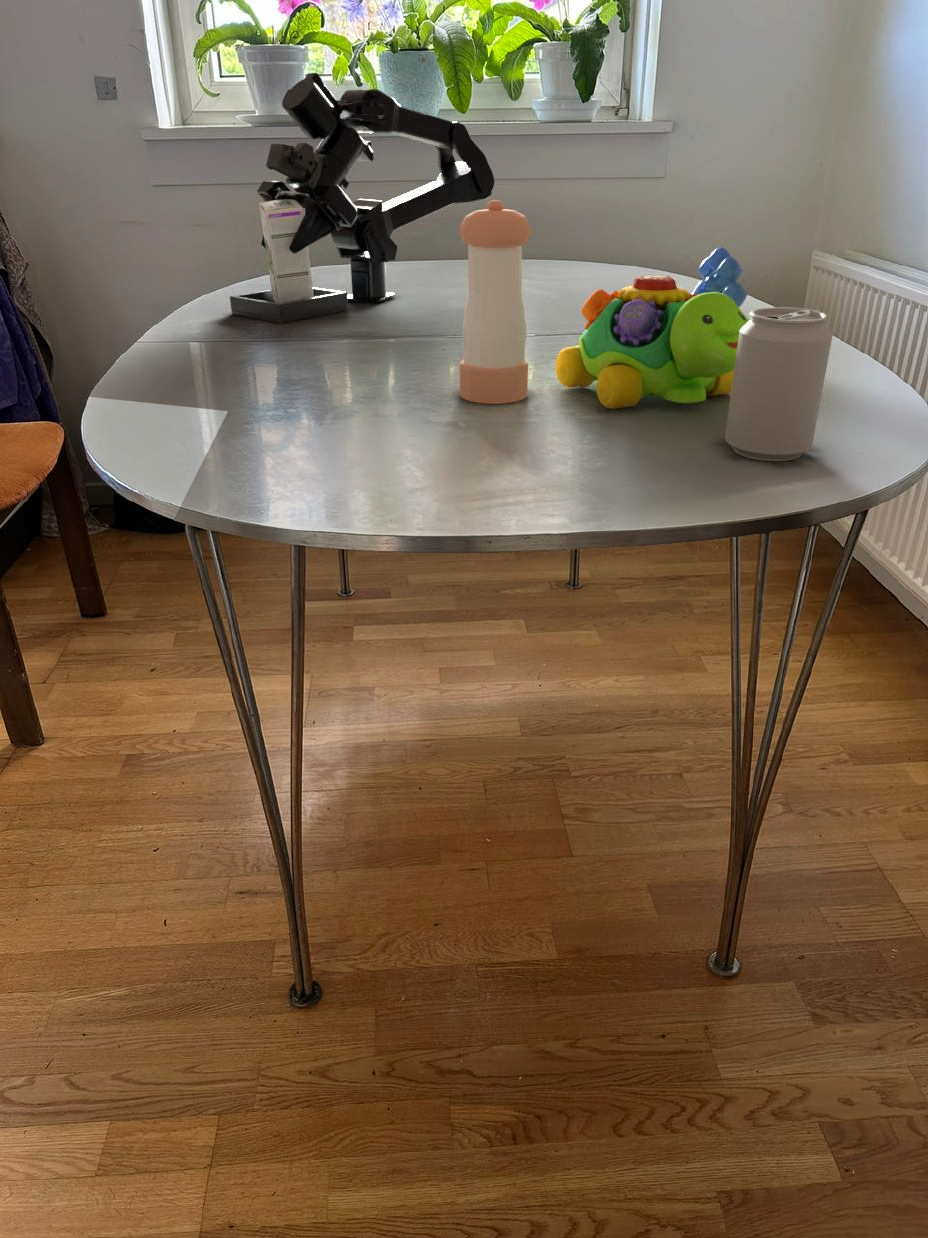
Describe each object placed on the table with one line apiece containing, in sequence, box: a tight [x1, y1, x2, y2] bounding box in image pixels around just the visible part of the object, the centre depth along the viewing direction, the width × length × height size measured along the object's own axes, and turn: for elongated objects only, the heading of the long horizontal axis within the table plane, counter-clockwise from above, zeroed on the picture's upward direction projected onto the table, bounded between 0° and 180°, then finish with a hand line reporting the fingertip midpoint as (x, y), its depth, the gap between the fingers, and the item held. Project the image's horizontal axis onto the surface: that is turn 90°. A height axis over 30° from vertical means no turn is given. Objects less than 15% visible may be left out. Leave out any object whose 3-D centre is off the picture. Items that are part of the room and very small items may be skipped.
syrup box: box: [258, 199, 314, 304], centre depth 138 cm, size 6×6×14 cm
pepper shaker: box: [459, 199, 532, 405], centre depth 94 cm, size 7×7×19 cm
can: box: [724, 306, 833, 462], centre depth 79 cm, size 8×8×12 cm
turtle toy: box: [555, 275, 750, 410], centre depth 95 cm, size 17×23×12 cm
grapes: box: [690, 246, 748, 308], centre depth 115 cm, size 12×7×12 cm, turn 10°
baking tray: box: [229, 286, 349, 324], centre depth 141 cm, size 14×12×3 cm
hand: (277, 249), depth 137 cm, fingers closed on syrup box, 7 cm apart
